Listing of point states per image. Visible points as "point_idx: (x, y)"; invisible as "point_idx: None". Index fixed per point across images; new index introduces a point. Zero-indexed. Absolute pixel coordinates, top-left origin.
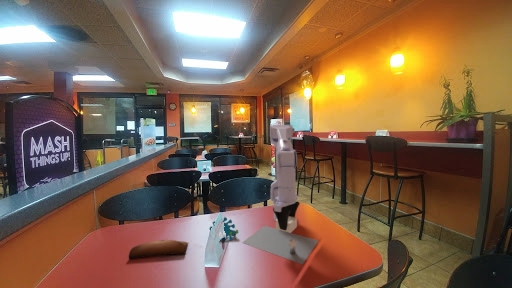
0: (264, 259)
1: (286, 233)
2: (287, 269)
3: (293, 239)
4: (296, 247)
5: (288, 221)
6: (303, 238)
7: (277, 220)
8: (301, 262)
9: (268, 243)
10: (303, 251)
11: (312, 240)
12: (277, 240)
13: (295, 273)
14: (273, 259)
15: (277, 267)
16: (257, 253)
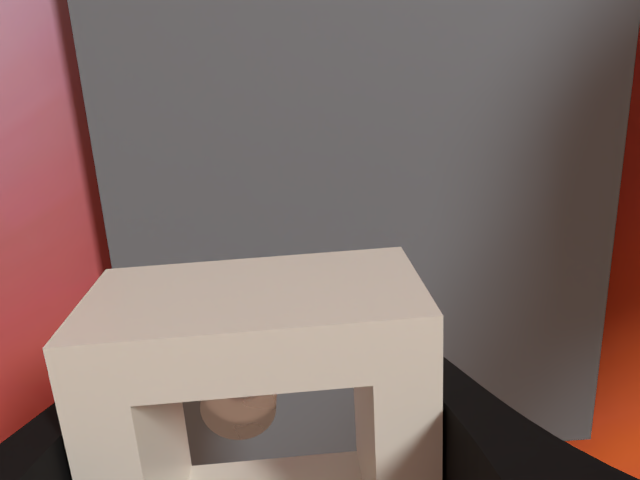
0: (10, 135)
1: (586, 97)
2: (47, 374)
3: (273, 404)
4: None
5: (362, 427)
6: (563, 311)
7: (62, 389)
8: None
9: (241, 28)
10: (328, 404)
11: (566, 395)
12: (367, 89)
13: None
14: (76, 210)
15: (6, 299)
16: (38, 3)
